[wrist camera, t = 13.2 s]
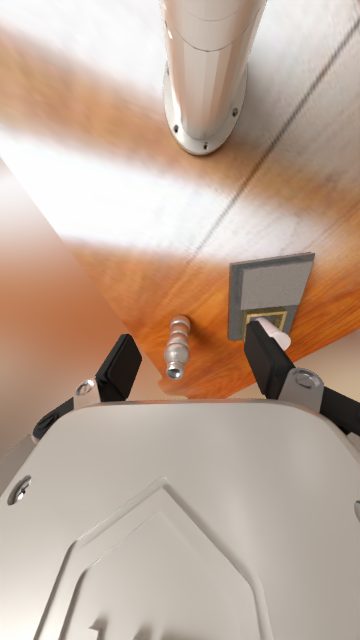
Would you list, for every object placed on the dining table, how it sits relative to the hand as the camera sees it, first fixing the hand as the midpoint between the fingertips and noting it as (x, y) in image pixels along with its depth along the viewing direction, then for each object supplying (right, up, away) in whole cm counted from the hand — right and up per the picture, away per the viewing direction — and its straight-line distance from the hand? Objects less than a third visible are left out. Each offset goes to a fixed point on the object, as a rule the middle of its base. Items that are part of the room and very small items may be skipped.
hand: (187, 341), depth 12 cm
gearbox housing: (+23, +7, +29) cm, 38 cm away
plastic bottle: (0, +1, +35) cm, 35 cm away
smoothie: (+23, +1, +31) cm, 39 cm away
